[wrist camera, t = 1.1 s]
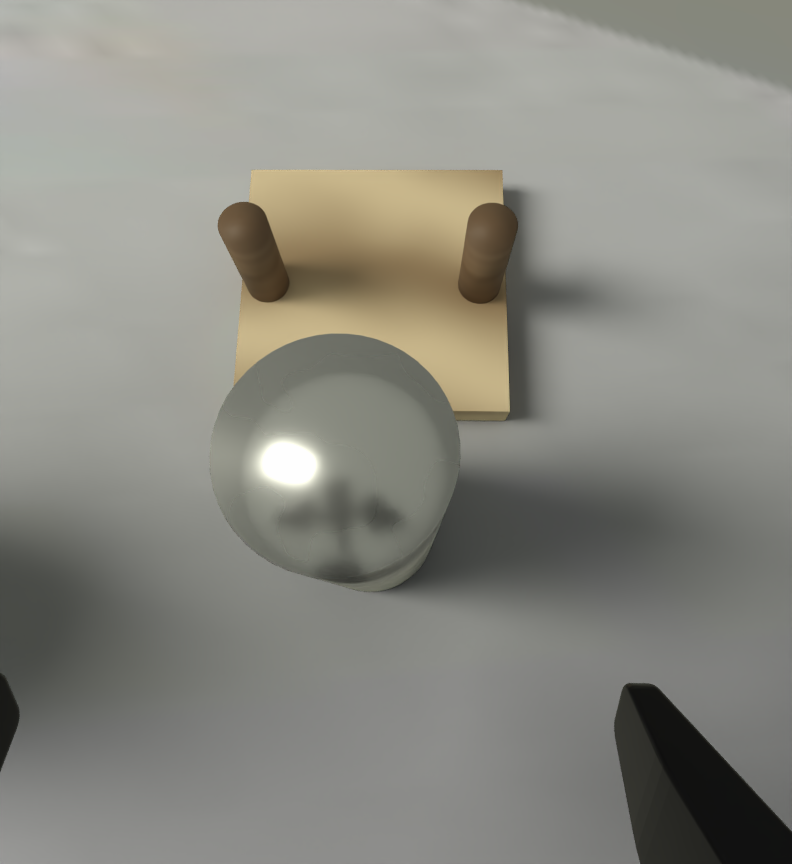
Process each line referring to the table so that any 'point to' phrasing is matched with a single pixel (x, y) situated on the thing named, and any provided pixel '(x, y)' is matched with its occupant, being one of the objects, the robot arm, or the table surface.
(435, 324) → the peg rack
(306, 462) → the silver metal cylinder
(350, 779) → the table surface
